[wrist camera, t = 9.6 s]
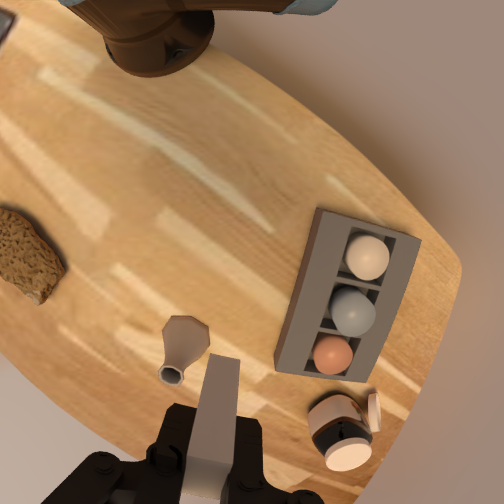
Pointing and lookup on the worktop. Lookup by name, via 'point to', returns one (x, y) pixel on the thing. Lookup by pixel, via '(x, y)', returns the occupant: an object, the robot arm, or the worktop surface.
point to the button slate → (351, 311)
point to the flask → (182, 347)
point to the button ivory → (365, 256)
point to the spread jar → (344, 430)
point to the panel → (331, 280)
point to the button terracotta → (331, 353)
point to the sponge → (27, 258)
